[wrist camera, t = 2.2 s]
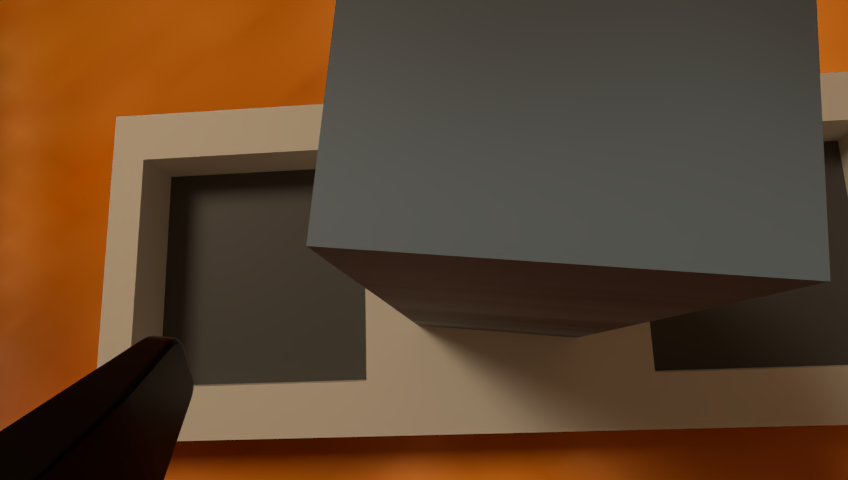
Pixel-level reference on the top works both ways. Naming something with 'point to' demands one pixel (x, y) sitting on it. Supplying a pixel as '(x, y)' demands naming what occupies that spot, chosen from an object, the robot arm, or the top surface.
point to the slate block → (571, 158)
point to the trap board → (399, 336)
